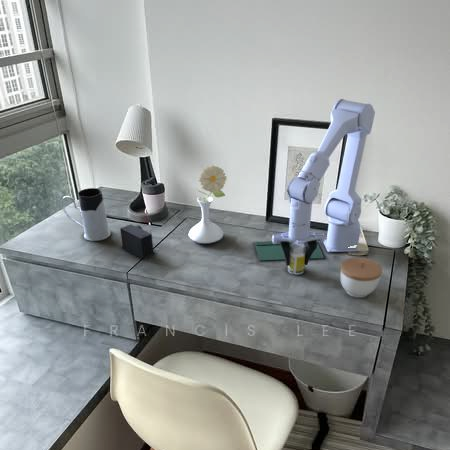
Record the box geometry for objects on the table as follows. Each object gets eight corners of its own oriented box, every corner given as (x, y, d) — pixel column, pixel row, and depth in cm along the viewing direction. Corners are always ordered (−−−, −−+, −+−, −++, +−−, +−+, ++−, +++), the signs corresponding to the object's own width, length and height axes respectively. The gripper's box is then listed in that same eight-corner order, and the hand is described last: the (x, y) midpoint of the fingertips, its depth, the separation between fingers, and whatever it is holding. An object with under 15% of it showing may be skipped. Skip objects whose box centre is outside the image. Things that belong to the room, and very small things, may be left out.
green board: (316, 241, 157) (316, 239, 157) (324, 258, 148) (324, 256, 148) (255, 243, 157) (255, 241, 156) (259, 261, 147) (259, 259, 147)
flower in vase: (183, 243, 157) (178, 168, 143) (197, 228, 166) (194, 156, 152) (220, 250, 153) (219, 173, 139) (233, 235, 162) (233, 161, 147)
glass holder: (107, 240, 159) (100, 197, 150) (64, 240, 159) (54, 197, 151) (113, 229, 166) (106, 187, 158) (71, 229, 166) (63, 187, 158)
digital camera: (157, 252, 152) (155, 232, 148) (143, 258, 149) (141, 238, 145) (136, 242, 158) (133, 222, 154) (122, 247, 155) (120, 228, 151)
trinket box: (332, 281, 137) (336, 252, 132) (369, 279, 138) (375, 250, 132) (343, 303, 128) (348, 273, 123) (383, 301, 129) (389, 271, 124)
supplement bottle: (305, 268, 143) (307, 242, 139) (302, 276, 140) (304, 250, 135) (289, 265, 145) (291, 240, 140) (285, 273, 141) (287, 248, 136)
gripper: (275, 228, 130) (273, 271, 137) (329, 226, 130) (323, 269, 138) (272, 217, 135) (270, 259, 143) (323, 215, 136) (318, 257, 144)
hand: (296, 263), depth 141 cm, fingers closed on supplement bottle, 5 cm apart
